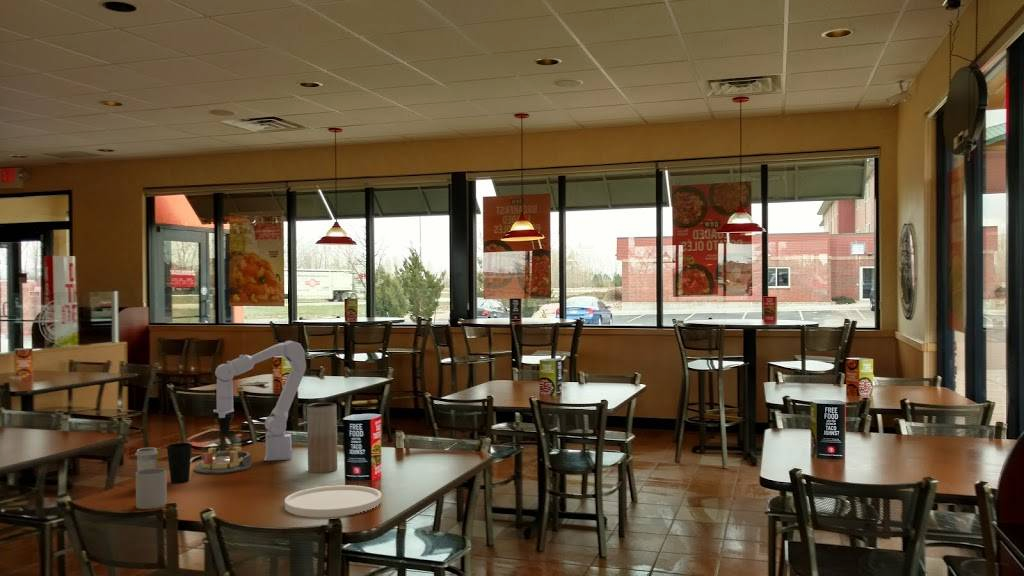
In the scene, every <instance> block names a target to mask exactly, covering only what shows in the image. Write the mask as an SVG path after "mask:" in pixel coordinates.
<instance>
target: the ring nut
mask: <svg viewBox="0 0 1024 576" xmlns="http://www.w3.org/2000/svg"><path fill="white" fill-rule="evenodd" d="M207 451H208V452H204V453H203V454H204V460H202V459H201V461H200V462H199V464H200V467H201V468H206V469H227V468H233V467H238V466H242V465H243V457H241V451H242V446H234V447H232V450H231V451H232V452H229V453H230V456H219V457H217V452H218V451H217V447H210V448H209V447H208V449H207ZM223 457H230V462H225V463H213V459H216V458H223Z"/></svg>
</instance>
